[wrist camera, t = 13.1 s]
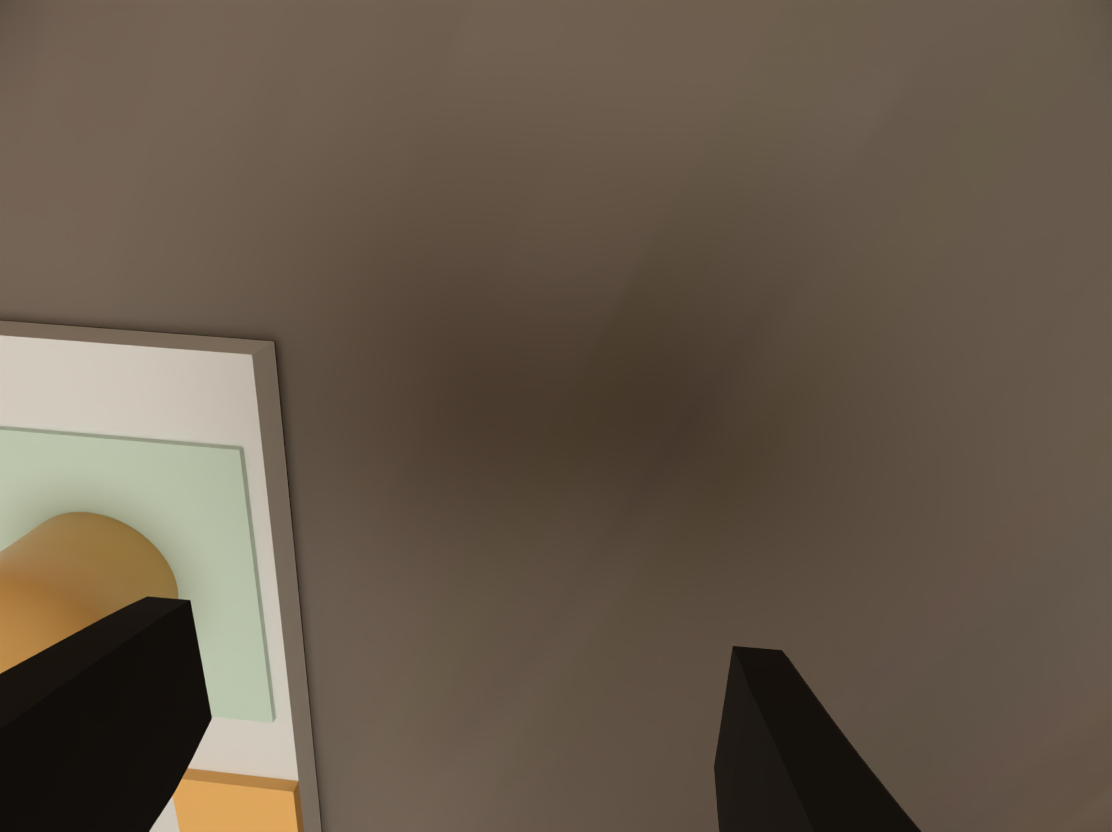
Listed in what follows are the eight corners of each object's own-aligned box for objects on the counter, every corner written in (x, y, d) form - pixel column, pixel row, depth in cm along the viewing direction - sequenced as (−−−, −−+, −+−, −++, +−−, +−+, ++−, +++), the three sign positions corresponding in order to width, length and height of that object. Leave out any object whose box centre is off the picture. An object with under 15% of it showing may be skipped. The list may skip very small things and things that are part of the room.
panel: (326, 875, 26) (307, 921, 25) (-91, 825, 27) (-133, 865, 26) (274, 341, 19) (243, 359, 17) (-298, 297, 20) (-374, 311, 18)
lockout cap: (189, 651, 21) (36, 840, 15) (43, 639, 21) (-160, 821, 16) (164, 517, 19) (-17, 675, 14) (6, 506, 20) (-235, 656, 14)
